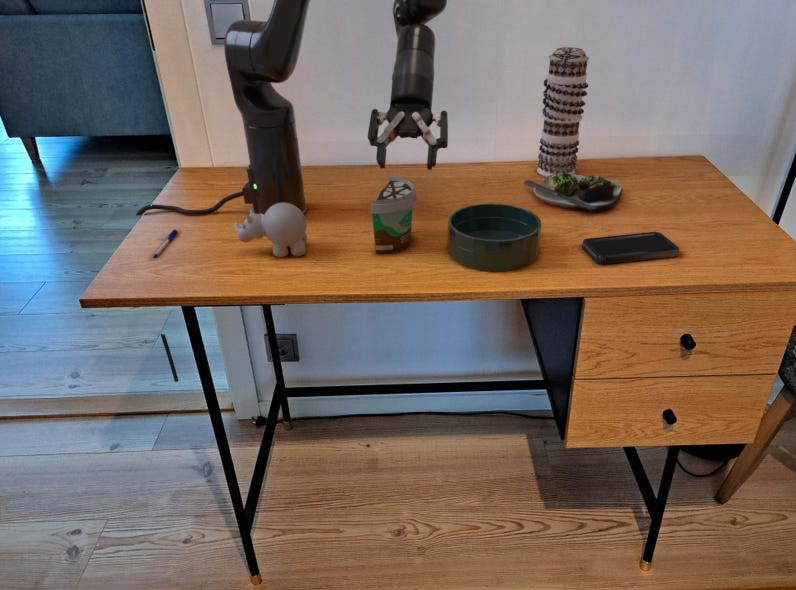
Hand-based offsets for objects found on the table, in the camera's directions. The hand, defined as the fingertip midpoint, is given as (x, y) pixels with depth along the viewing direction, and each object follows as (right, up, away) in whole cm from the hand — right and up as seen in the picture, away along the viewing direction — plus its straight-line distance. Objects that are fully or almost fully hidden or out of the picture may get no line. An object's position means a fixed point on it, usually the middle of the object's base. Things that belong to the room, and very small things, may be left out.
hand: (405, 167), depth 114 cm
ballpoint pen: (-42, -14, -1) cm, 45 cm away
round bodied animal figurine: (-23, -16, -3) cm, 28 cm away
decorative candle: (+33, +8, +29) cm, 44 cm away
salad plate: (+35, -1, +17) cm, 39 cm away
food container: (-1, -14, -1) cm, 14 cm away
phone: (+39, -16, -3) cm, 42 cm away
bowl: (+15, -15, -3) cm, 22 cm away
